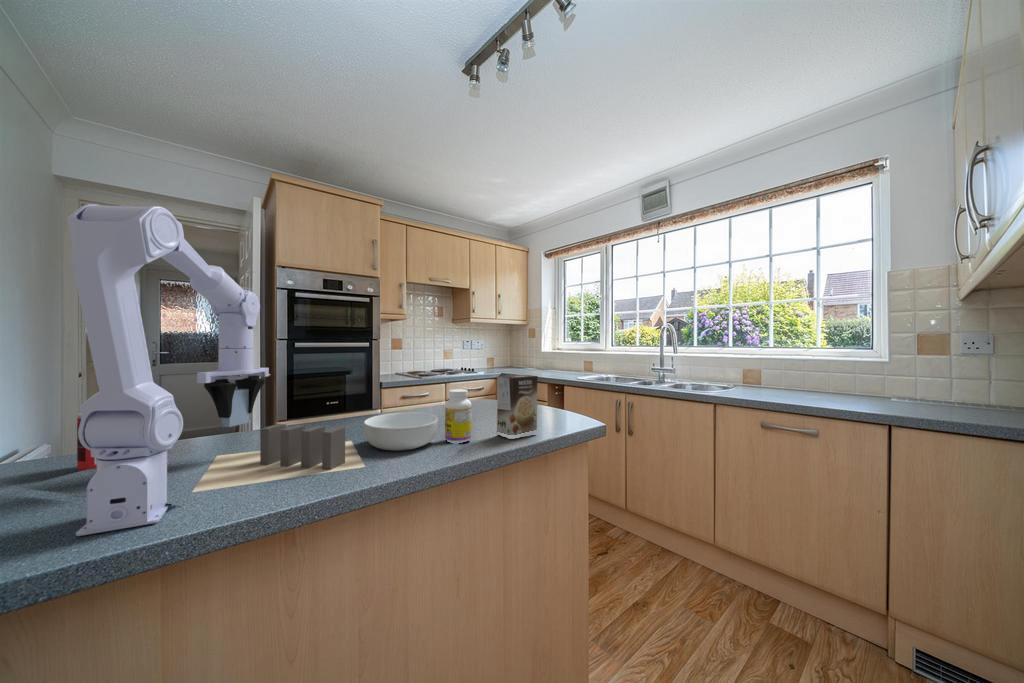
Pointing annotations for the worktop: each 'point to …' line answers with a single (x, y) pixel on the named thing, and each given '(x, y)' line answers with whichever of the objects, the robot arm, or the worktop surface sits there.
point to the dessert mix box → (517, 404)
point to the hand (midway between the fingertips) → (235, 415)
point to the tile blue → (238, 409)
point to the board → (263, 469)
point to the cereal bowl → (401, 430)
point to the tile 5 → (333, 448)
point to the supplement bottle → (458, 416)
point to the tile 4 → (311, 446)
